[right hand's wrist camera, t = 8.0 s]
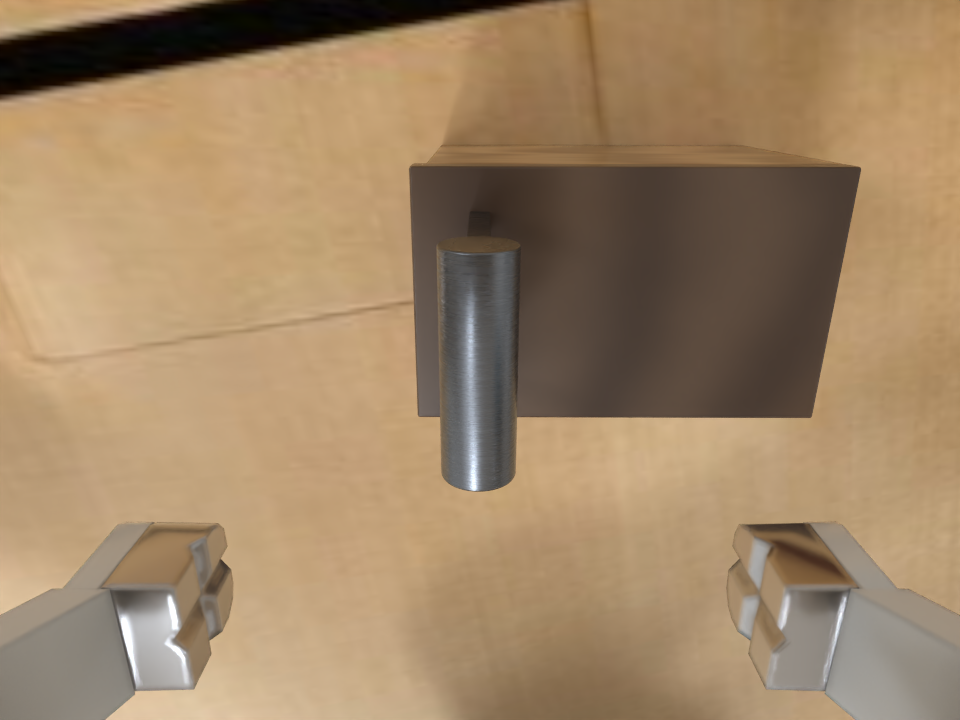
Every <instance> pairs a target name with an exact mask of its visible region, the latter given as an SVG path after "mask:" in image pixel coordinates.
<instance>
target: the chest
mask: <svg viewBox="0 0 960 720" xmlns="http://www.w3.org/2000/svg"><path fill="white" fill-rule="evenodd" d="M427 164H840V163H834V162H829V161H823V160H817V159H812V158H806V157H801V156H795V155H790V154H784V153H779V152H773V151H768V150H762V149H757V148H751V147H747V146H598V145H442V146H441V147H440V148H439V150H438V151H437V152H436V153H435V154H434V155H433V157H432V158H431V159H430V160H429V161H428V162H427Z"/></svg>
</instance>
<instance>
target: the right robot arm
mask: <svg viewBox="0 0 960 720" xmlns="http://www.w3.org/2000/svg"><path fill="white" fill-rule="evenodd" d="M226 548H227V542H226V537H225V532H224V528H223V527H222V526H220V525H219V524H218V523H174V522H157V523H154V522H125V523H122V524H119V525H117V526H116V527H115V528H114V529H113V531H112V532H111V533H110V534H109V535H108V536H107V538H106V539H105V540H104V541H103V542H102V543H101V544H100V546H99V547H98V548H97V549H96V550H95V551H94V553H93V554H92V555H91V556H90V557H89V558H88V560H87V561H86V562H85V563H84V564H83V565H82V567H81V568H80V569H79V570H78V571H77V572H76V573H75V575H74V576H73V577H72V578H71V579H70V580H69V582H68V583H67V584H66V585H65V586H64V587H63V589H51V590H49V591H47V592H45V593H43V594H41V595H39V596H37V597H35V598H33V599H31V600H29V601H27V602H25V603H23V604H21V605H19V606H17V607H15V608H13V609H11V610H9V611H8V612H6V613H4V614H2V615H0V720H105V719H106V718H107V717H109V716H110V715H111V714H112V713H113V712H115V711H116V710H117V709H118V708H119V707H120V706H122V705H123V704H124V703H125V702H126V701H127V700H129V699H130V698H131V697H132V696H133V695H135V692H134V691H153V690H187V689H194V688H195V686H196V684H197V682H198V680H199V678H200V676H201V674H202V672H203V670H204V668H205V666H206V664H207V662H208V660H209V658H210V656H211V648H210V643H209V640H211V639H212V638H214V637H215V636H216V635H218V634H219V633H221V632H222V631H223V629H224V627H225V624H226V622H227V620H228V618H229V614H230V610H231V605H232V600H233V579H232V572H231V569H230V568H229V567H228V566H227V565H226V564H225V563H224V562H223V561H222V560H221V557H222V555H223V553H224V551H225V550H226ZM733 548H734V550H735V551H736V553H737V555H738V557H739V560H738V561H737V562H736V563H735V564H734V565H733V566H732V567H731V568H730V569H729V572H728V580H727V599H728V607H729V610H730V614H731V618H732V620H733V622H734V624H735V627H736V629H737V631H738V632H739V633H741V634H742V635H744V636H745V637H746V638H748V639H749V640H751V643H750V648H749V656H750V658H751V660H752V662H753V664H754V666H755V668H756V670H757V672H758V674H759V676H760V678H761V680H762V682H763V684H764V686H765V688H766V689H771V690H807V691H825V694H826V695H827V696H828V697H829V698H830V699H832V700H833V701H834V702H835V703H836V704H838V705H839V706H840V707H841V708H842V709H843V710H845V711H846V712H847V713H848V714H849V715H850V716H852V717H853V718H854V719H855V720H960V615H958V614H956V613H954V612H952V611H950V610H948V609H947V608H945V607H943V606H941V605H939V604H937V603H935V602H933V601H931V600H929V599H927V598H925V597H923V596H921V595H919V594H917V593H915V592H913V591H911V590H909V589H897V587H896V586H895V585H894V584H893V583H892V582H891V580H890V579H889V578H888V577H887V576H886V575H885V573H884V572H883V571H882V570H881V569H880V568H879V567H878V565H877V564H876V563H875V562H874V561H873V560H872V558H871V557H870V556H869V555H868V554H867V553H866V551H865V550H864V549H863V548H862V547H861V546H860V545H859V543H858V542H857V541H856V540H855V539H854V538H853V536H852V535H851V534H850V533H849V532H848V531H847V529H846V528H845V527H844V526H843V525H841V524H839V523H837V522H807V523H791V524H739V526H738V528H737V530H736V532H735V536H734V541H733Z"/></svg>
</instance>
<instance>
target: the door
mask: <svg viewBox="0 0 960 720" xmlns="http://www.w3.org/2000/svg"><path fill="white" fill-rule="evenodd" d="M860 172H861V168H860V167H856V166H851V165H845V164H412V165H411V166H410V168H409V176H410V205H411V233H412V262H413V290H414V319H415V347H416V375H417V404H418V416H419V417H440V425H441V471H442V476H443V478H444V479H445V480H446V482H448V483H449V484H450V485H452V486H454V487H456V488H459V489H462V490H467V491H490V490H495V489H498V488H501V487H503V486H505V485H507V484H508V483H510V482H511V481H512V479H513V478H514V476H515V473H516V432H517V417H681V418H811V417H812V412H813V407H814V402H815V397H816V392H817V387H818V382H819V377H820V372H821V367H822V362H823V357H824V352H825V347H826V342H827V337H828V332H829V327H830V322H831V317H832V312H833V307H834V302H835V297H836V292H837V287H838V282H839V277H840V272H841V267H842V262H843V257H844V252H845V247H846V242H847V237H848V232H849V227H850V222H851V217H852V212H853V207H854V202H855V197H856V192H857V187H858V182H859V177H860Z"/></svg>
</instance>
